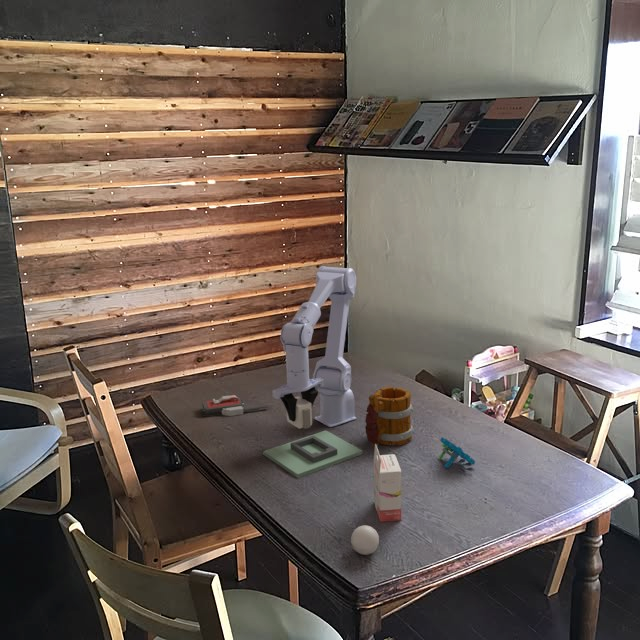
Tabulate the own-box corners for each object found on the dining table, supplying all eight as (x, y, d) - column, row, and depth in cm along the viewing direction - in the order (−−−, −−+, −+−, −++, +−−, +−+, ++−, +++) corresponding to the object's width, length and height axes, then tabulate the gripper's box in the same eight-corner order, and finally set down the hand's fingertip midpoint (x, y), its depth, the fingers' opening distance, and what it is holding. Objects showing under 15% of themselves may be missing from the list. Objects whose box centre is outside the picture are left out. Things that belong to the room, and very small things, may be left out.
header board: (325, 433, 198) (325, 425, 197) (362, 454, 185) (362, 445, 184) (263, 454, 187) (263, 445, 186) (298, 478, 174) (297, 468, 173)
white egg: (382, 559, 141) (381, 534, 140) (353, 561, 141) (352, 536, 139) (375, 537, 149) (375, 513, 147) (348, 539, 148) (347, 515, 147)
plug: (295, 414, 194) (294, 394, 192) (314, 425, 186) (313, 404, 185) (282, 418, 191) (281, 397, 190) (301, 429, 184) (300, 408, 182)
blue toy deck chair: (484, 464, 174) (456, 441, 171) (469, 484, 173) (442, 462, 170) (461, 451, 184) (435, 429, 181) (447, 470, 184) (421, 448, 181)
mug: (421, 436, 194) (421, 384, 190) (383, 457, 183) (383, 402, 179) (389, 425, 202) (389, 375, 197) (351, 445, 190) (350, 392, 186)
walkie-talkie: (202, 421, 210) (269, 412, 215) (201, 407, 208) (268, 398, 214) (198, 410, 218) (263, 401, 223) (197, 396, 216) (262, 388, 222)
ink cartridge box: (402, 521, 154) (402, 458, 150) (379, 522, 154) (379, 460, 150) (395, 500, 163) (395, 440, 159) (373, 502, 162) (372, 442, 158)
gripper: (312, 358, 191) (314, 406, 195) (265, 370, 183) (268, 420, 187) (327, 365, 186) (329, 414, 189) (279, 378, 178) (282, 429, 181)
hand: (299, 417), depth 188 cm, fingers closed on plug, 4 cm apart
